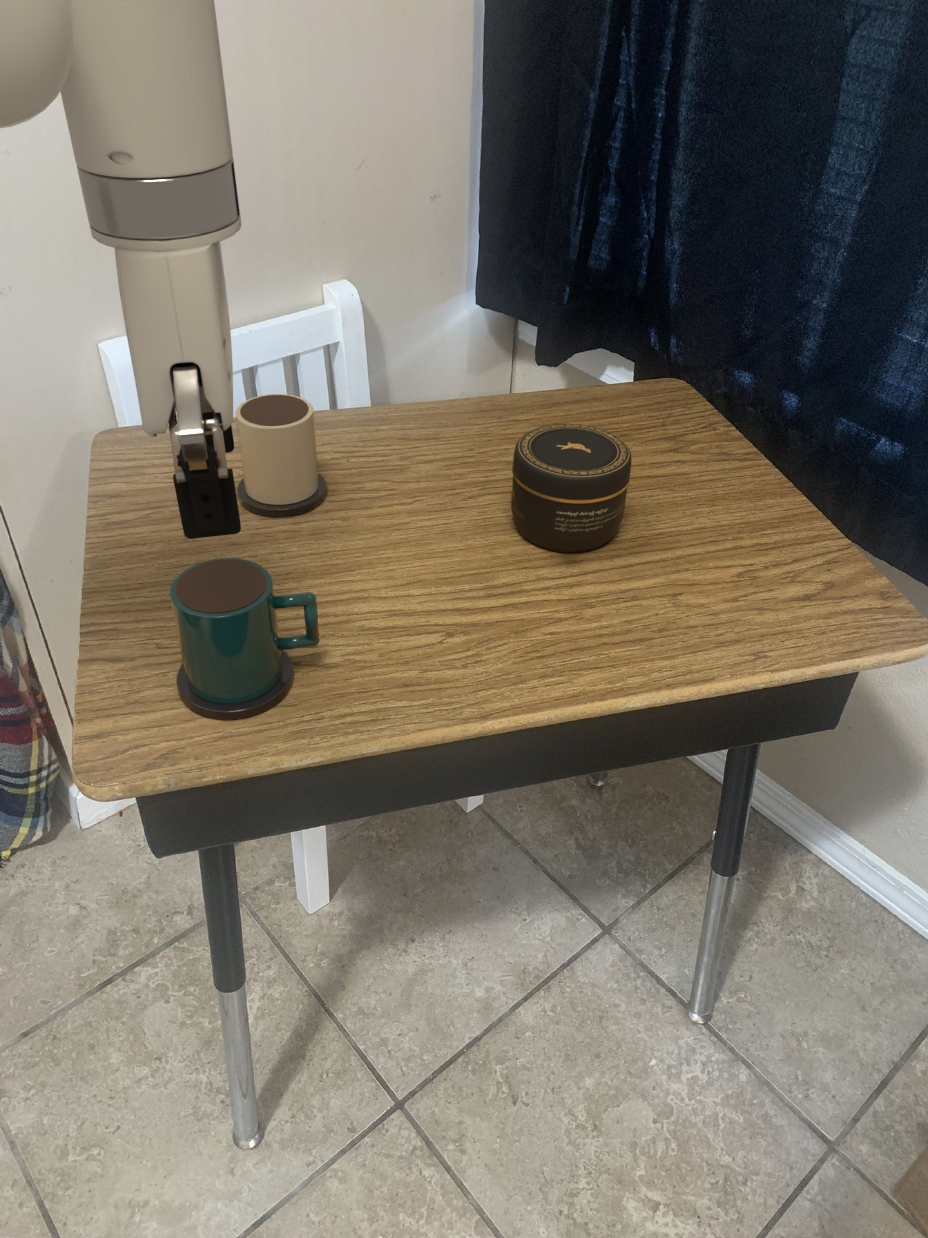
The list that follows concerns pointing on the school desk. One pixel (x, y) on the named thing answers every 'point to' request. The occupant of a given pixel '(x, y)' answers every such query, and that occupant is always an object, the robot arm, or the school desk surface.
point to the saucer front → (237, 709)
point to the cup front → (234, 628)
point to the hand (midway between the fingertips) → (211, 490)
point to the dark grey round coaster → (283, 509)
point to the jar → (569, 486)
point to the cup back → (278, 448)
